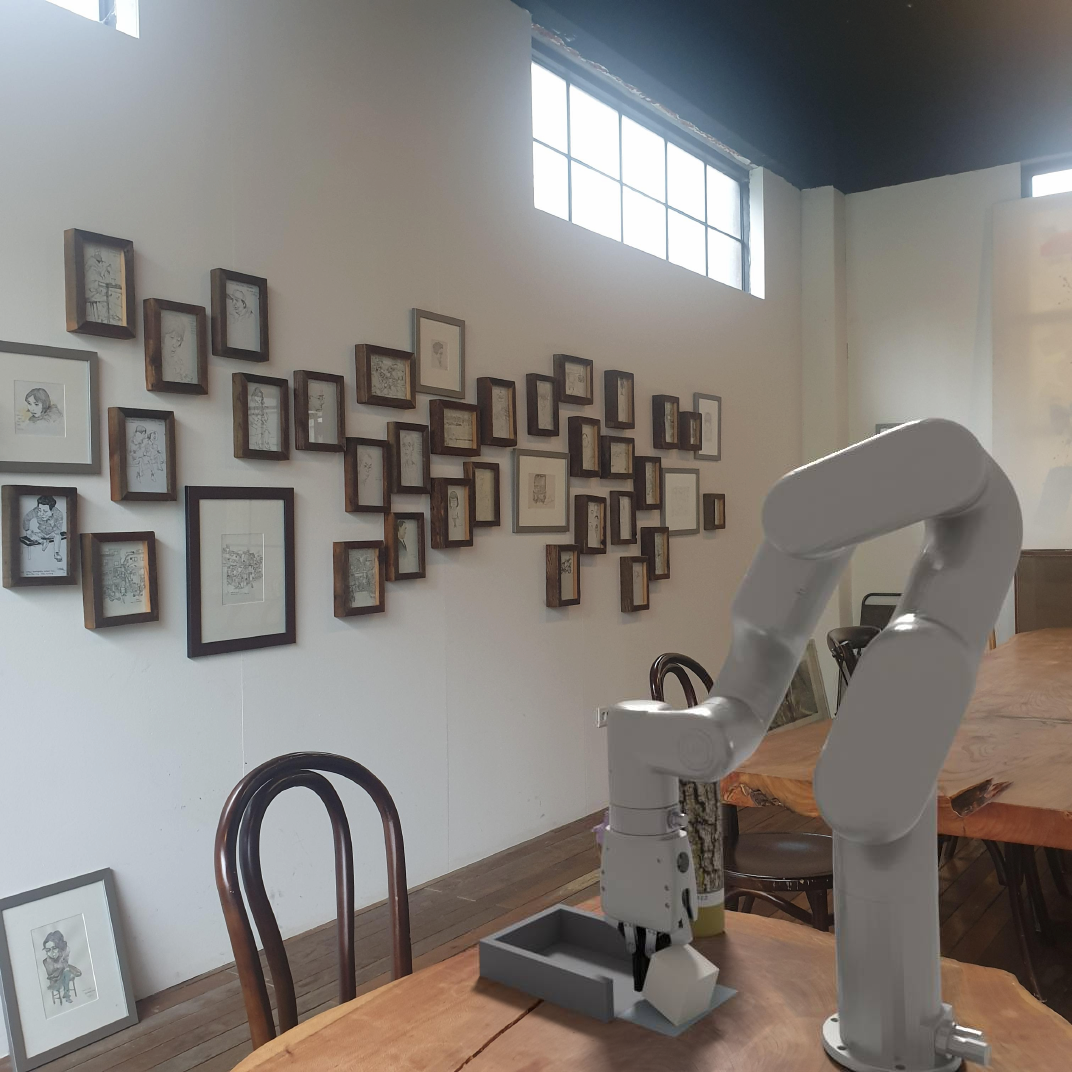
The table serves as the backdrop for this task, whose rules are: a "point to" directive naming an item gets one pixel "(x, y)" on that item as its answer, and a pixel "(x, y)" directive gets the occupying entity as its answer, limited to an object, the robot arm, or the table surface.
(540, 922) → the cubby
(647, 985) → the cream block
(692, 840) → the paper tube
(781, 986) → the table surface
